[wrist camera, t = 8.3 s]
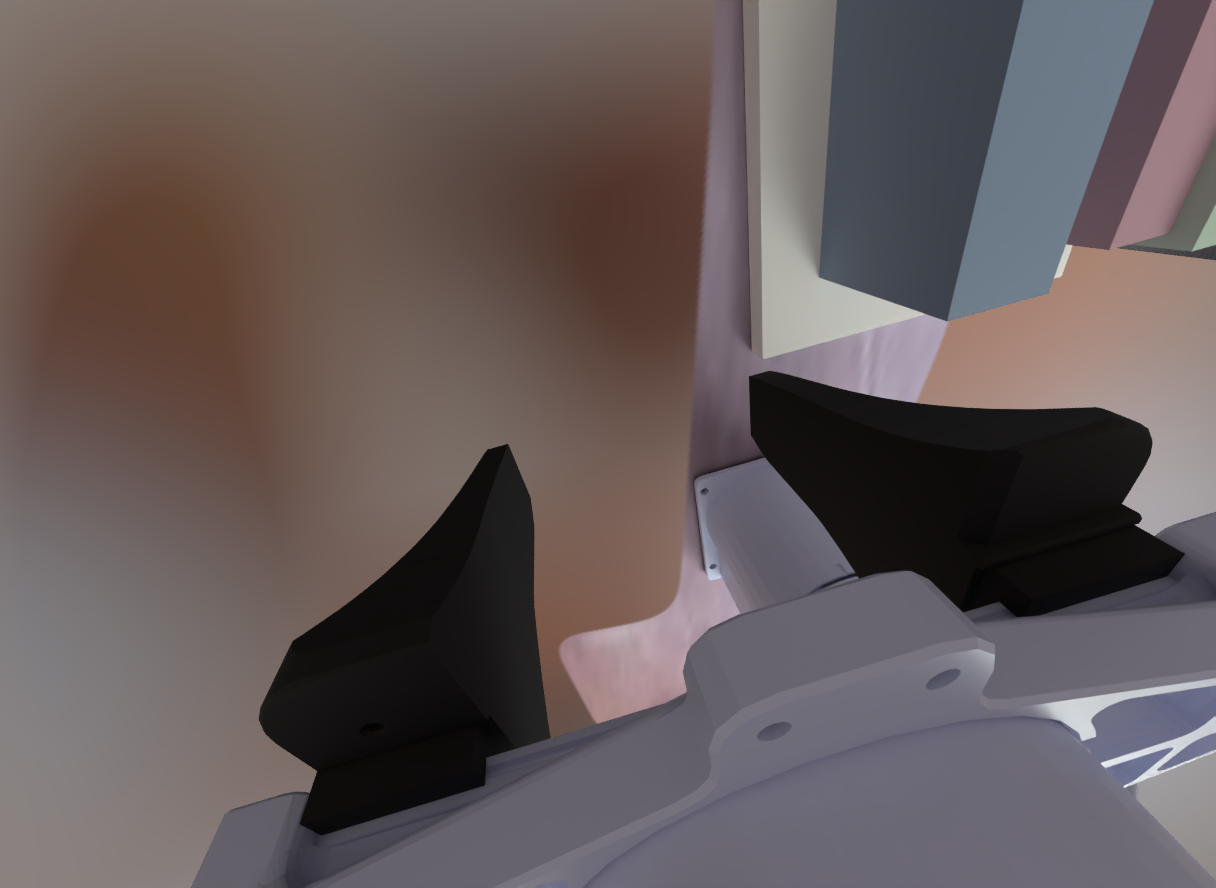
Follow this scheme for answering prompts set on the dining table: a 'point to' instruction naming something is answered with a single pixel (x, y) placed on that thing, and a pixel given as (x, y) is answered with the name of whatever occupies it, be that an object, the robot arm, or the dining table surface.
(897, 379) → the dining table surface
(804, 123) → the shelf board
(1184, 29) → the books
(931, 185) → the slate book
